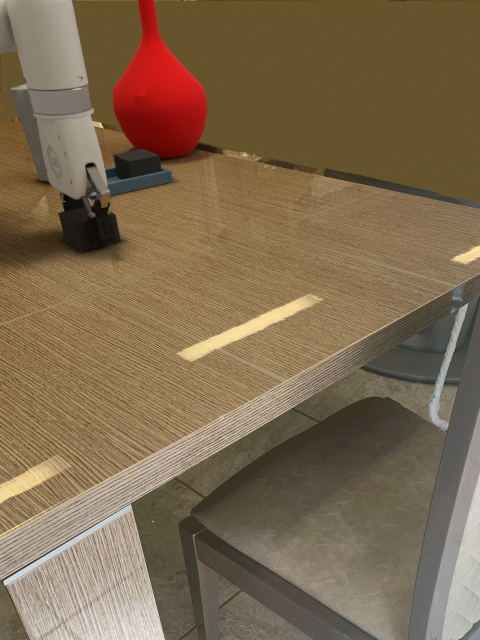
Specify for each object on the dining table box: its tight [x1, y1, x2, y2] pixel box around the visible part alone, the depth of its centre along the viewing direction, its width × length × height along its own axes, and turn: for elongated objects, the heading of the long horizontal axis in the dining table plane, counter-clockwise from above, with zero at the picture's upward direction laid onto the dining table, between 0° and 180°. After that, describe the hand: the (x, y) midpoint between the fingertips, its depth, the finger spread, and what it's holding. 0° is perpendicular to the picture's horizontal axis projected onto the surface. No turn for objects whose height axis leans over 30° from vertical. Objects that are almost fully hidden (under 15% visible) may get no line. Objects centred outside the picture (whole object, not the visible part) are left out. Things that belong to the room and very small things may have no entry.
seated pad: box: [112, 149, 162, 180], centre depth 116 cm, size 6×6×4 cm
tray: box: [86, 165, 174, 200], centre depth 115 cm, size 15×9×2 cm, turn 131°
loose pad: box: [57, 204, 122, 252], centre depth 92 cm, size 6×6×4 cm
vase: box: [111, 0, 209, 159], centre depth 124 cm, size 18×18×30 cm
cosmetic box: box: [10, 83, 49, 183], centre depth 113 cm, size 8×7×16 cm
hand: (91, 234), depth 93 cm, fingers open, 7 cm apart
